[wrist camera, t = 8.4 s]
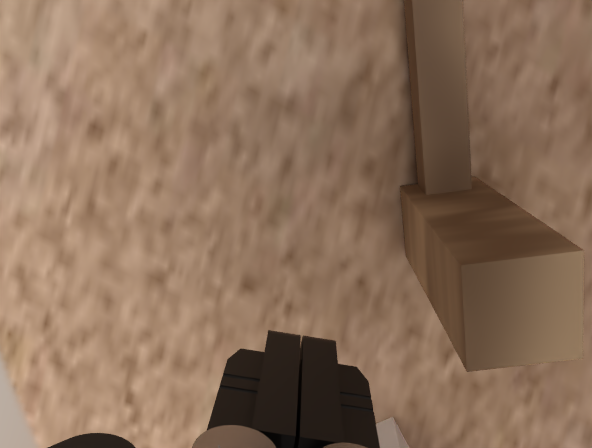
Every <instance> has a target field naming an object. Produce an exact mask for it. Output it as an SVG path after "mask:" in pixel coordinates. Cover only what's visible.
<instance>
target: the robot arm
mask: <svg viewBox="0 0 592 448" xmlns="http://www.w3.org/2000/svg"><path fill="white" fill-rule="evenodd" d="M300 338H301V336H300V335H295V334H289V333H283V332H276V331H270V330H268V335H267V341H266V347H265V352H259V351H253V350H247V349H240V350H238V351H237V352H236V353H235V354H233V355H232V356H231V357H230V358H229V359H228V360H227V363H226V367H225V370H224V373H223V377H222V380H221V384H220V388H219V390H218V394H217V397H216V401H215V404H214V407H213V411H212V414H211V418H210V421H209V424H208V428H207V431H205V432H204V433H202V434H201V435H200V436H199V437H198V438H197V439H196V441H195V442H194V444H193V446H192V448H380V445H379V439H378V434H377V428H376V422H375V416H374V412H373V405H372V400H371V394H370V388H369V382H368V380H367V379H366V378H365V377H364V375H363V374H362V373H361V372H360V370H359V369H358V368H357V367H354V366H348V365H342V364H338V362H337V350H336V341H334V340H327V339H321V338H315V337H308V336H303V337H302V342H301V347H300ZM48 448H135V446H134V445H133V444H132V443H130V442H129V441H127V440H126V439H124V438H122V437H119V436H116V435H111V434H105V433H90V434H83V435H79V436H75V437H72V438H69V439H67V440H64V441H62V442H60V443H57V444H55V445H53V446H51V447H48Z"/></svg>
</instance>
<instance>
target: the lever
mask: <svg viewBox="0 0 592 448" xmlns="http://www.w3.org/2000/svg"><path fill="white" fill-rule="evenodd" d="M404 6H405V19H406V32H407V45H408V59H409V72H410V85H411V98H412V112H413V125H414V138H415V151H416V165H417V178H418V184H414V185H406V186H400V192H401V204H402V216H403V227H404V239H405V251H406V257H407V259H408V261H409V263H410V265H411V266H412V268H413V270H414V272H415V274H416V276H417V278H418V280H419V282H420V284H421V285H422V287H423V289H424V291H425V293H426V295H427V297H428V299H429V301H430V302H431V304H432V306H433V308H434V310H435V312H436V314H437V316H438V318H439V320H440V321H441V323H442V325H443V327H444V329H445V331H446V333H447V335H448V337H449V338H450V340H451V342H452V344H453V346H454V348H455V350H456V352H457V354H458V356H459V357H460V359H461V361H462V363H463V365H464V367H465V369H466V371H467V372H469V371H478V370H487V369H496V368H505V367H514V366H523V365H532V364H541V363H550V362H559V361H568V360H577V359H583V318H584V250H583V249H581V248H580V247H578V246H577V245H575V244H574V243H572V242H571V241H569V240H568V239H566V238H565V237H563V236H562V235H560V234H559V233H557V232H556V231H555V230H553V229H552V228H550V227H549V226H547V225H546V224H544V223H543V222H541V221H540V220H538V219H537V218H535V217H534V216H532V215H531V214H529V213H528V212H526V211H525V210H523V209H522V208H520V207H519V206H517V205H516V204H514V203H513V202H512V201H510V200H509V199H507V198H506V197H504V196H503V195H501V194H500V193H498V192H497V191H495V190H494V189H492V188H491V187H489V186H488V185H486V184H485V183H483V182H482V181H480V180H479V179H477V178H476V177H471V161H470V140H469V119H468V98H467V78H466V57H465V36H464V16H463V0H404Z"/></svg>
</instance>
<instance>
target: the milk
mask: <svg viewBox="0 0 592 448" xmlns="http://www.w3.org/2000/svg"><path fill="white" fill-rule="evenodd" d="M376 428H377V434H378V439H379V445H380V448H409V446H408V444H407V442H406V440H405V438H404V436H403V435H402V433H401V431H400V429H399V427H398V425H397V424H396V422H395V420H394V418H393V417H391V418H388V419H386V420H384V421H381V422H379V423H377V424H376Z"/></svg>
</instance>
